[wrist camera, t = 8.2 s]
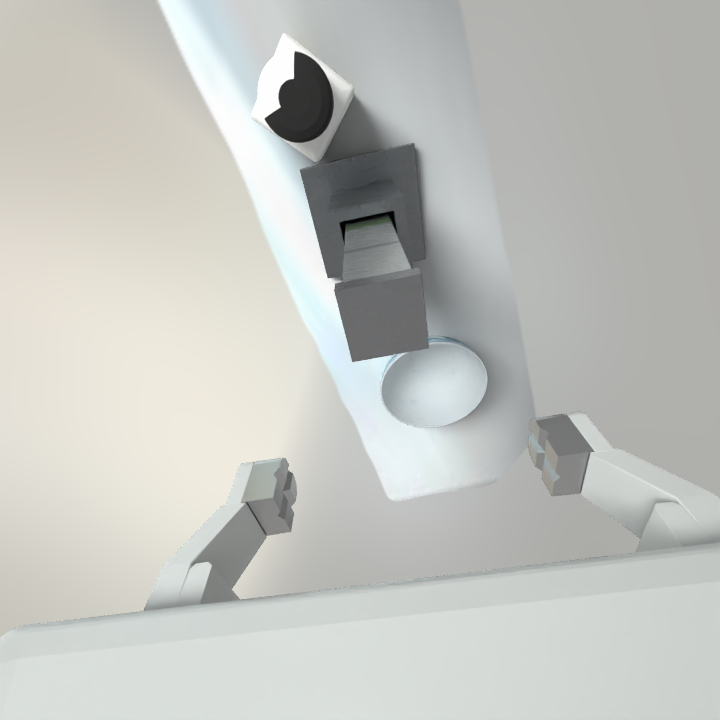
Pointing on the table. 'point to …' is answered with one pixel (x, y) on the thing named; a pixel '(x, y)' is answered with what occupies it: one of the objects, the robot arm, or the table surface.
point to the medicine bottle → (301, 99)
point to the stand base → (365, 200)
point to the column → (379, 292)
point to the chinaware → (434, 384)
